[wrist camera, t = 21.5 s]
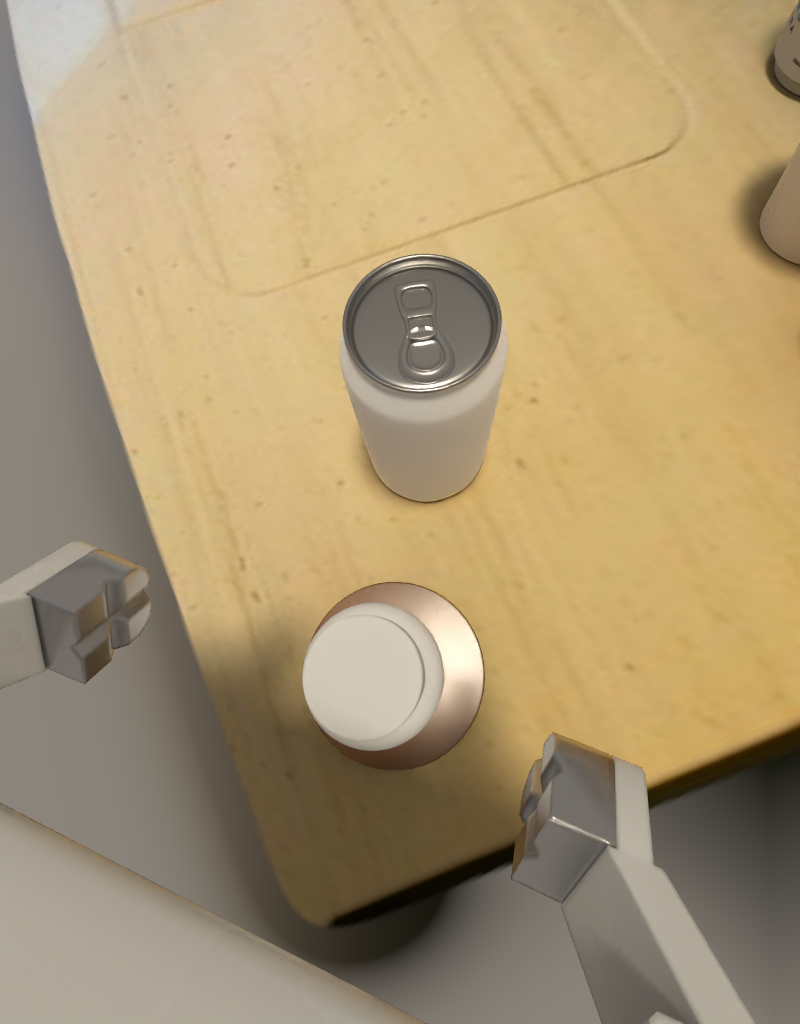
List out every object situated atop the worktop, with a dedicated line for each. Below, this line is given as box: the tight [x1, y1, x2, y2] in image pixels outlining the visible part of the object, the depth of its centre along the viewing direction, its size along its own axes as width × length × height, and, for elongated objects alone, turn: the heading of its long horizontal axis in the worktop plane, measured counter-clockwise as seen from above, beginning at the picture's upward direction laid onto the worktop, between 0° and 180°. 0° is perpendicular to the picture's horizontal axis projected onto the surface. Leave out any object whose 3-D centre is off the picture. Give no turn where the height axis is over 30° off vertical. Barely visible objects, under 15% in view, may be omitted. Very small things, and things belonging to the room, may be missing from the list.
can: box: [339, 254, 507, 502], centre depth 25 cm, size 6×6×12 cm
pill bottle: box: [302, 602, 444, 751], centre depth 22 cm, size 5×5×10 cm
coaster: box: [311, 582, 485, 770], centre depth 27 cm, size 9×9×1 cm
